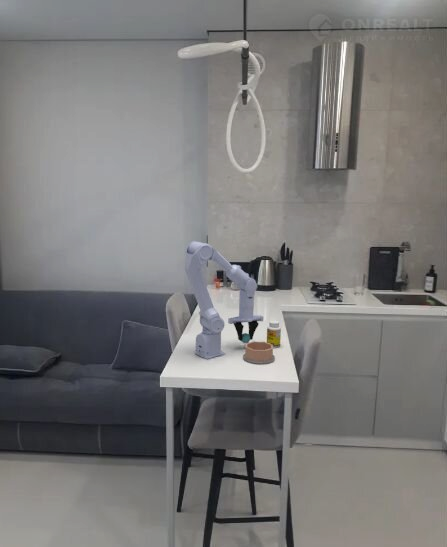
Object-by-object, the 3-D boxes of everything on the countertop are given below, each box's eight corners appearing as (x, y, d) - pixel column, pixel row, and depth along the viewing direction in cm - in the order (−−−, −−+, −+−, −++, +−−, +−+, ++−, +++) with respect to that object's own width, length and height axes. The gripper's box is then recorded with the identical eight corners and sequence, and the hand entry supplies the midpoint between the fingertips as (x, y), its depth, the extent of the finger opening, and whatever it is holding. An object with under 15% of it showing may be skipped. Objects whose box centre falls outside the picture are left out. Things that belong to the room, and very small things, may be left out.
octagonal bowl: (258, 366, 165) (258, 353, 164) (236, 357, 174) (236, 344, 173) (281, 359, 173) (281, 347, 172) (259, 351, 182) (259, 338, 181)
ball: (244, 345, 182) (245, 335, 181) (238, 342, 185) (238, 333, 184) (252, 343, 184) (252, 333, 184) (245, 340, 188) (245, 331, 187)
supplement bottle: (263, 345, 189) (264, 321, 187) (273, 342, 192) (274, 319, 190) (272, 349, 184) (273, 324, 183) (282, 346, 188) (284, 322, 186)
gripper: (233, 310, 176) (232, 344, 178) (267, 307, 181) (266, 340, 183) (226, 306, 182) (225, 338, 185) (259, 303, 188) (258, 335, 190)
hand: (245, 339), depth 184 cm, fingers closed on ball, 4 cm apart
